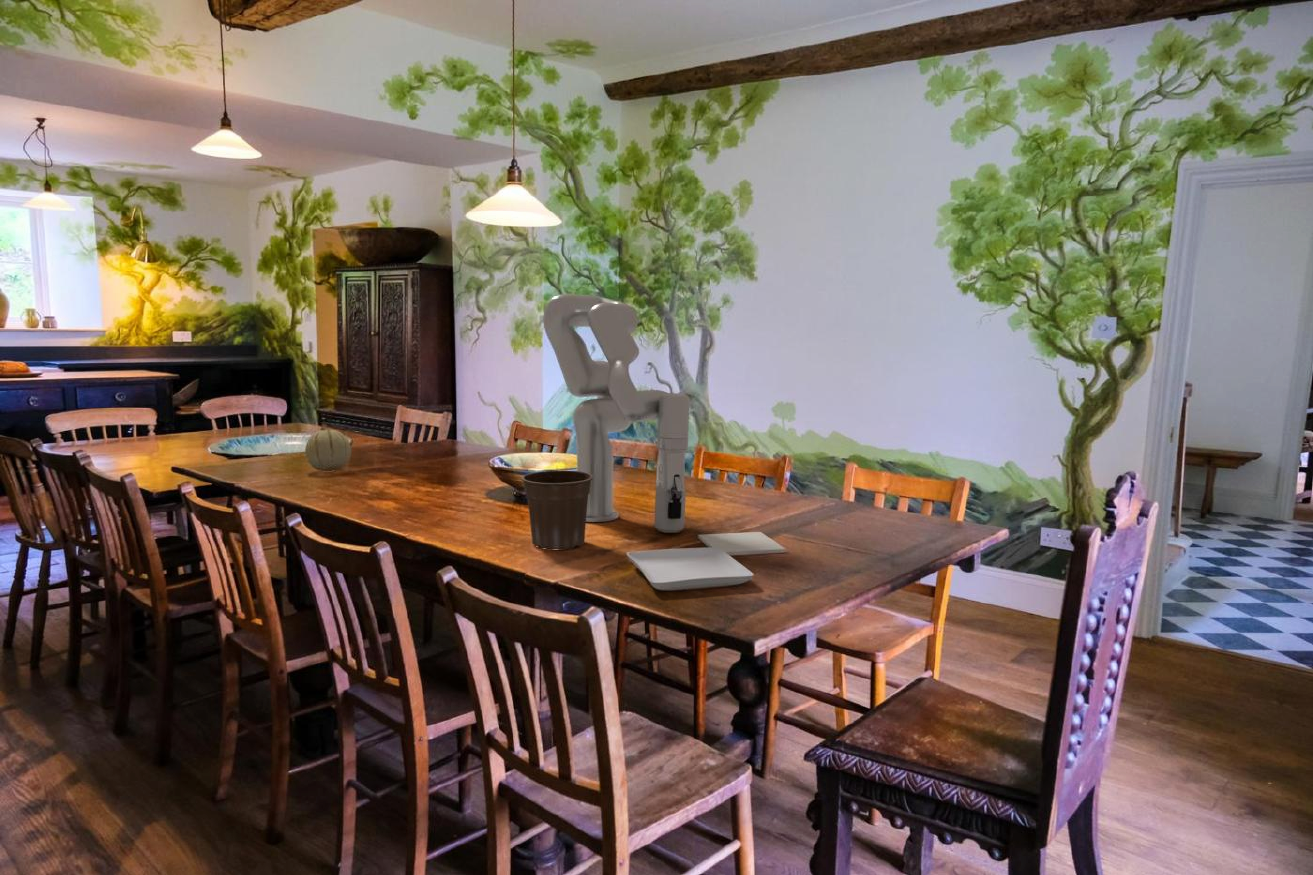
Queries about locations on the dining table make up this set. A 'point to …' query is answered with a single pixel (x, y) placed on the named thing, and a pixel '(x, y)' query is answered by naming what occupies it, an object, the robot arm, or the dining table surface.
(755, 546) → the mat
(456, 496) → the dining table surface
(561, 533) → the plant pot
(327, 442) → the cantaloupe
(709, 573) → the salad plate
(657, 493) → the can
